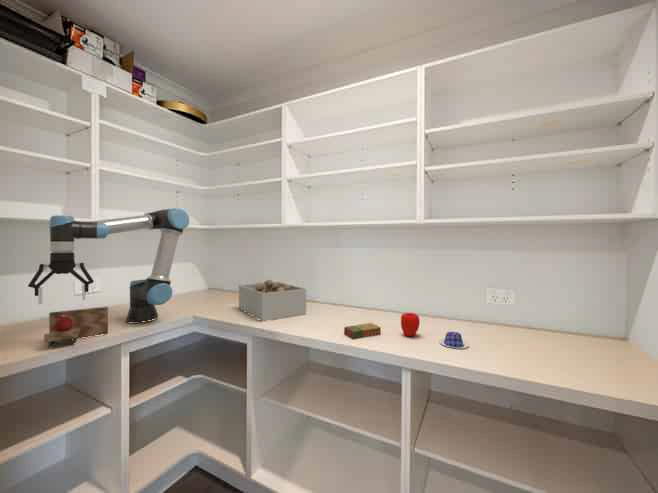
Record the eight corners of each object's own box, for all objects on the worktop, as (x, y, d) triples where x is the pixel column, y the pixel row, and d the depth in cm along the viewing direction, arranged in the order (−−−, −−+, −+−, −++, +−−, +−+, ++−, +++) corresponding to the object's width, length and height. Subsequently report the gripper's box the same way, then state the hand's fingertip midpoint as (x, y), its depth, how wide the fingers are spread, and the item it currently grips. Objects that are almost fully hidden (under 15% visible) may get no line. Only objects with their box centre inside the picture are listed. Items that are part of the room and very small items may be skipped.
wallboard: (107, 333, 136) (107, 306, 136) (107, 334, 134) (107, 307, 134) (50, 341, 124) (50, 312, 124) (49, 343, 123) (49, 313, 122)
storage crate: (278, 303, 206) (278, 281, 206) (306, 314, 175) (306, 288, 175) (238, 309, 188) (239, 285, 188) (262, 322, 158) (262, 293, 158)
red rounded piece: (416, 339, 130) (417, 316, 130) (398, 336, 135) (398, 313, 135) (421, 334, 138) (421, 312, 138) (403, 331, 142) (403, 310, 142)
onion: (75, 330, 125) (75, 312, 125) (68, 334, 120) (68, 316, 120) (58, 332, 123) (58, 314, 123) (51, 336, 118) (51, 317, 118)
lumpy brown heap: (296, 319, 163) (296, 284, 163) (251, 318, 165) (252, 283, 165) (306, 305, 201) (306, 276, 201) (269, 304, 203) (270, 276, 202)
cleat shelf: (79, 338, 129) (79, 324, 129) (77, 345, 120) (77, 330, 120) (49, 343, 123) (49, 328, 123) (44, 350, 114) (44, 334, 114)
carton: (380, 335, 137) (381, 326, 137) (352, 340, 130) (352, 331, 130) (371, 330, 145) (371, 322, 145) (343, 335, 138) (343, 326, 138)
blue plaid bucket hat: (464, 341, 129) (465, 330, 129) (472, 351, 118) (472, 338, 118) (437, 339, 132) (437, 328, 132) (441, 348, 120) (441, 336, 120)
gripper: (100, 251, 131) (100, 296, 131) (22, 252, 116) (23, 303, 116) (99, 251, 125) (99, 299, 125) (17, 252, 110) (17, 307, 110)
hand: (62, 301), depth 121 cm, fingers open, 13 cm apart
